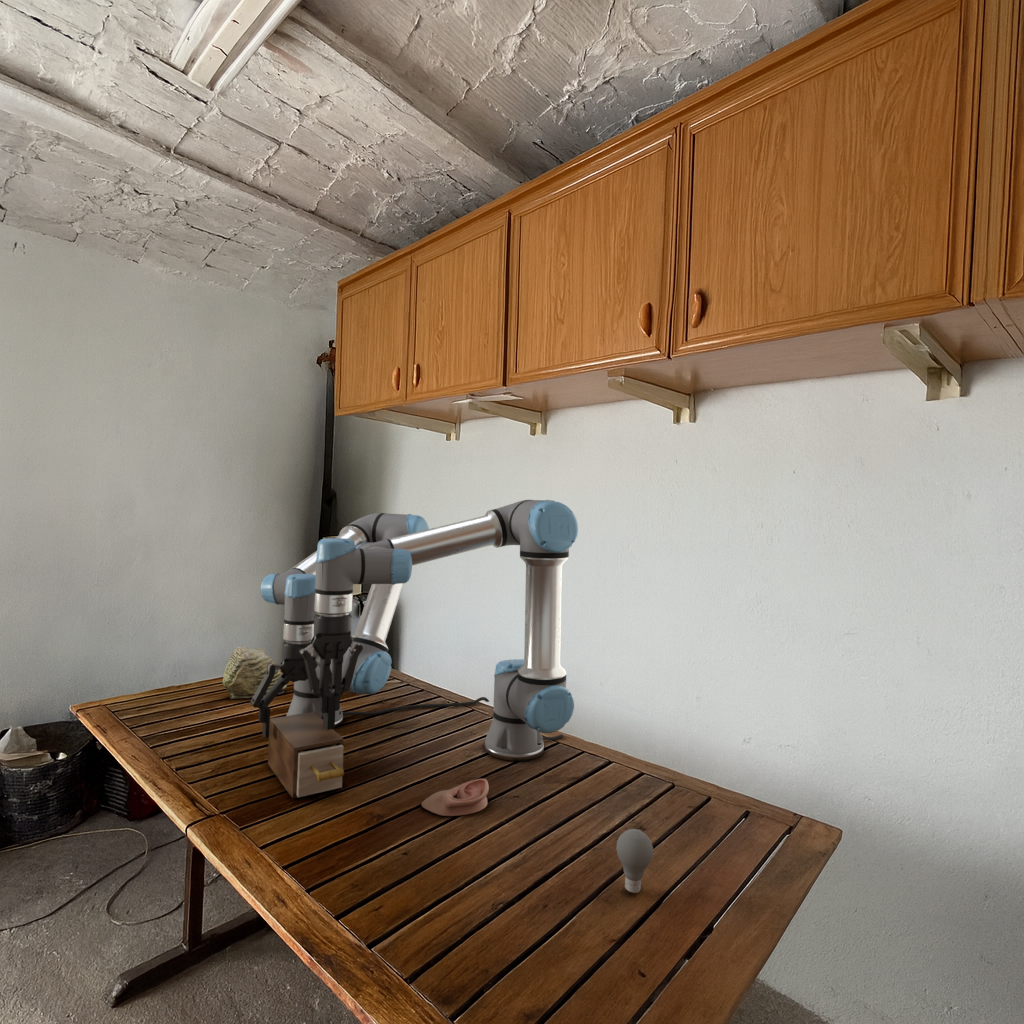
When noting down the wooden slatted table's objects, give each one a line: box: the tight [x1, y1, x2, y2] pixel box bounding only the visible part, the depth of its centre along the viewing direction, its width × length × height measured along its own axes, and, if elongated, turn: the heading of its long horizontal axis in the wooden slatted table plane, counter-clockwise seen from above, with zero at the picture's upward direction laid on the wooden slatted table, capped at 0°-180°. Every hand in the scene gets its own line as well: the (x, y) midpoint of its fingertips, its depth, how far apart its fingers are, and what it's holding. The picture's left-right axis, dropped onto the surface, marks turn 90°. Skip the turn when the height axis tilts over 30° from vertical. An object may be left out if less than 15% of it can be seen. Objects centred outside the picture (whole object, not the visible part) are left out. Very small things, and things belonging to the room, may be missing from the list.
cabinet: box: [267, 712, 344, 799], centre depth 143 cm, size 20×10×11 cm, turn 35°
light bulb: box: [615, 828, 654, 894], centre depth 106 cm, size 6×6×10 cm
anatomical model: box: [421, 778, 490, 817], centre depth 133 cm, size 13×4×12 cm
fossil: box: [222, 646, 288, 699], centre depth 198 cm, size 9×18×15 cm, turn 132°
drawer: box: [297, 744, 345, 798], centre depth 139 cm, size 25×9×9 cm, turn 35°
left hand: (295, 731), depth 148 cm, fingers open, 13 cm apart
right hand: (328, 726), depth 131 cm, fingers closed
